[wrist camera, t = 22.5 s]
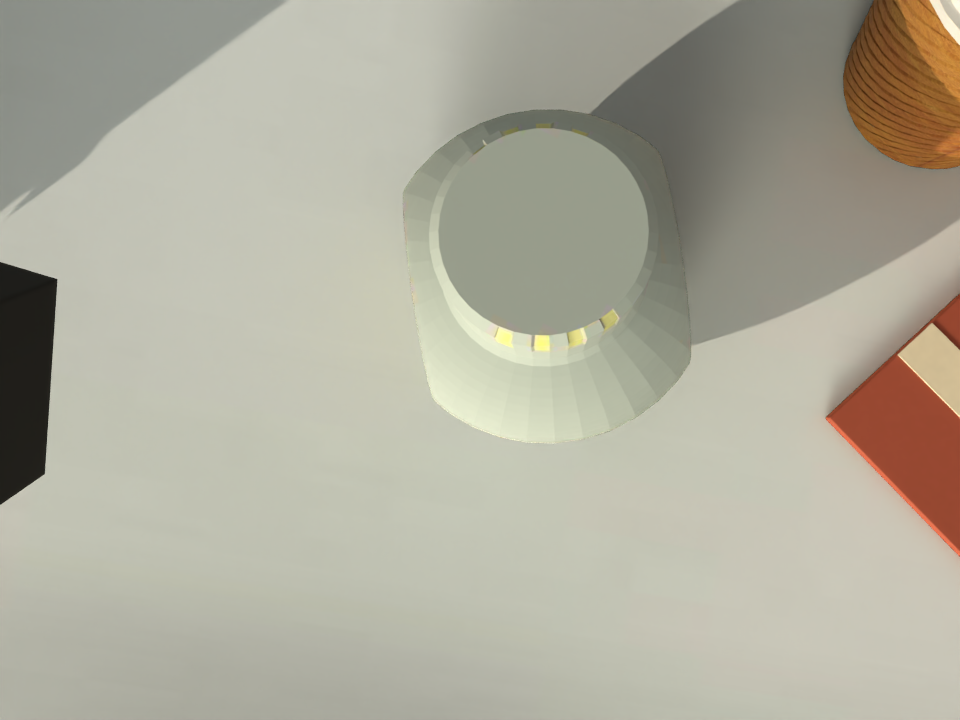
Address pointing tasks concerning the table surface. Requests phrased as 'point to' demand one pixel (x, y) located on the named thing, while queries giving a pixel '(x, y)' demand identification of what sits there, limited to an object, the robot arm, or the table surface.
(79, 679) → the table surface
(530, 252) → the air freshener
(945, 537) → the tea towel
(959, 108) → the disposable coffee cup
